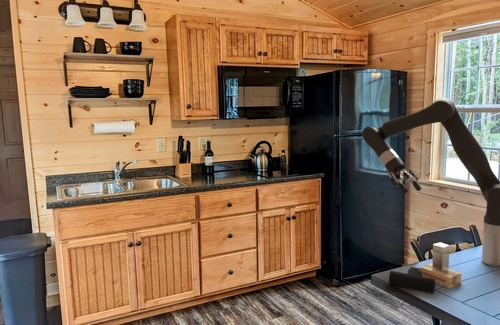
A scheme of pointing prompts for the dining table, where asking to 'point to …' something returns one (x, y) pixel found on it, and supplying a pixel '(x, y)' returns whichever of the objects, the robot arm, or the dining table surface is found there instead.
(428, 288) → the pipe connector
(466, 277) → the dining table surface
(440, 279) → the block
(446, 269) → the jack column
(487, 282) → the dining table surface
